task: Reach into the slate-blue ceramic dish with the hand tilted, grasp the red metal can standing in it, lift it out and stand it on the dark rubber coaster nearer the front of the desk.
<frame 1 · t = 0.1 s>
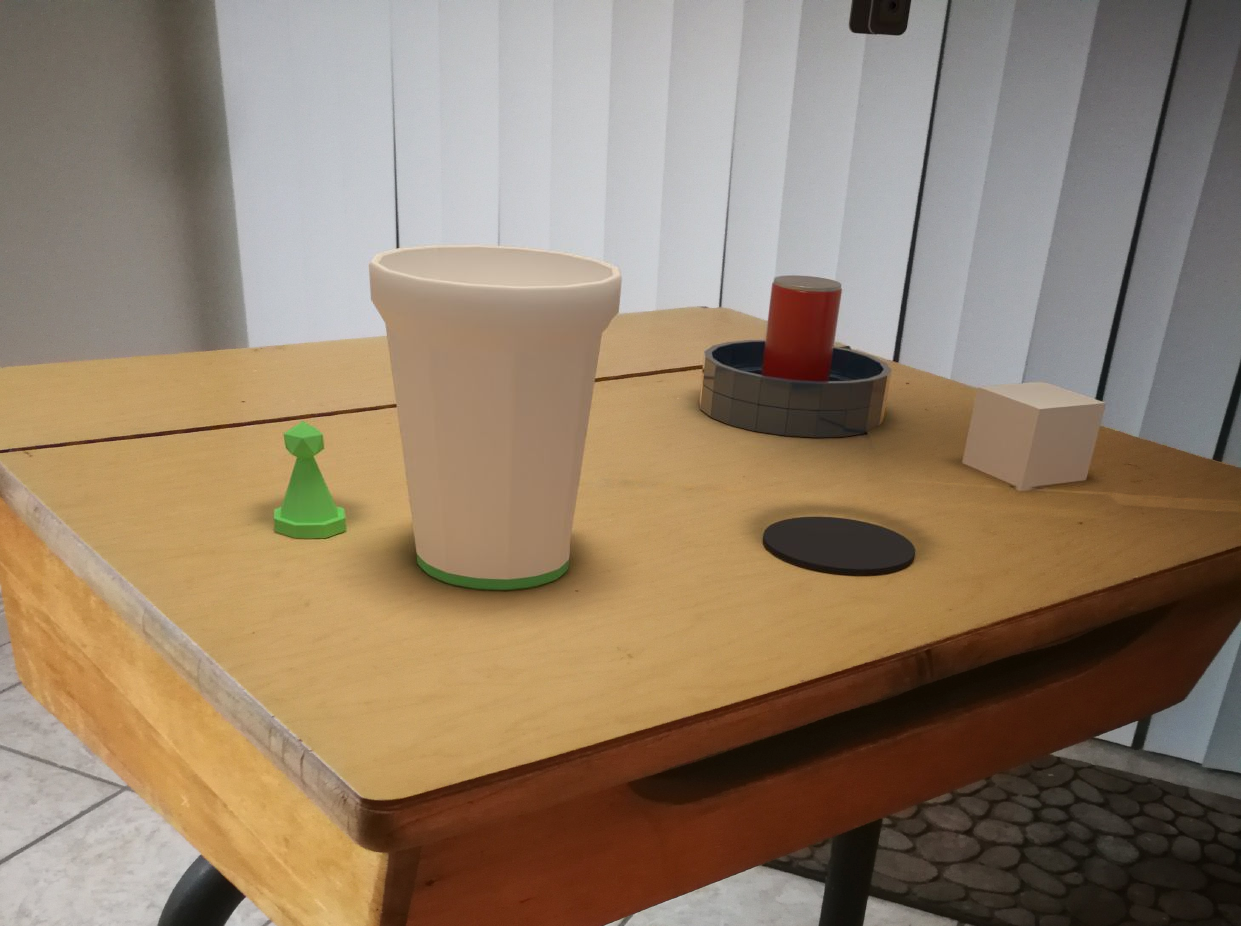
hand: (875, 34, 81), 26 cm above the table, tool pointing down, fingers open, 8 cm apart
game piece: (310, 529, 75), on the table
can: (790, 412, 102), point 1 cm above the table, touching dish
coaster: (838, 547, 77), on the table
beige cube: (1020, 485, 91), on the table
cup: (493, 565, 72), on the table
dish: (789, 419, 102), on the table
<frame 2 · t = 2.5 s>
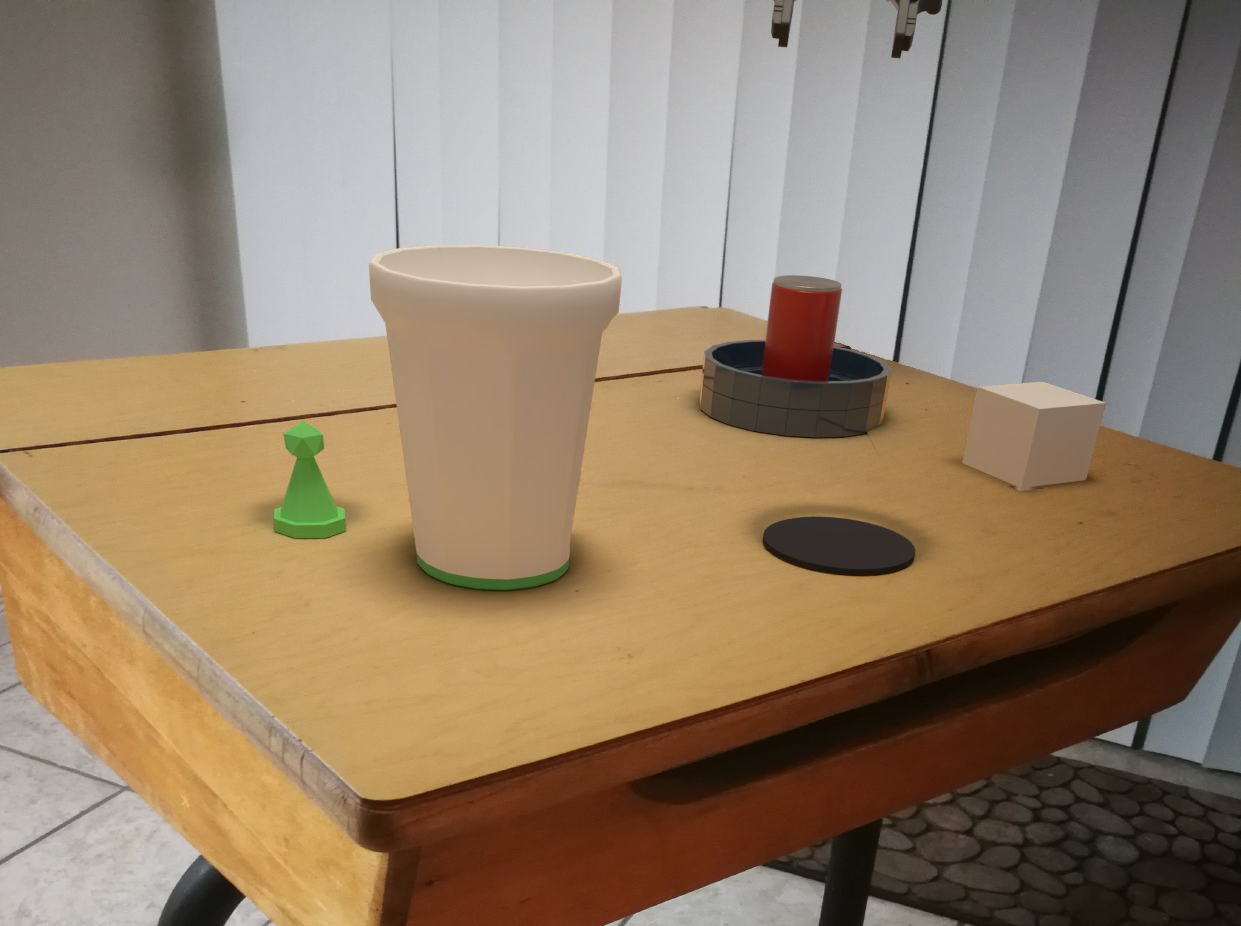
hand: (840, 44, 97), 25 cm above the table, tool tilted 45°, fingers open, 8 cm apart
nothing on the table moved.
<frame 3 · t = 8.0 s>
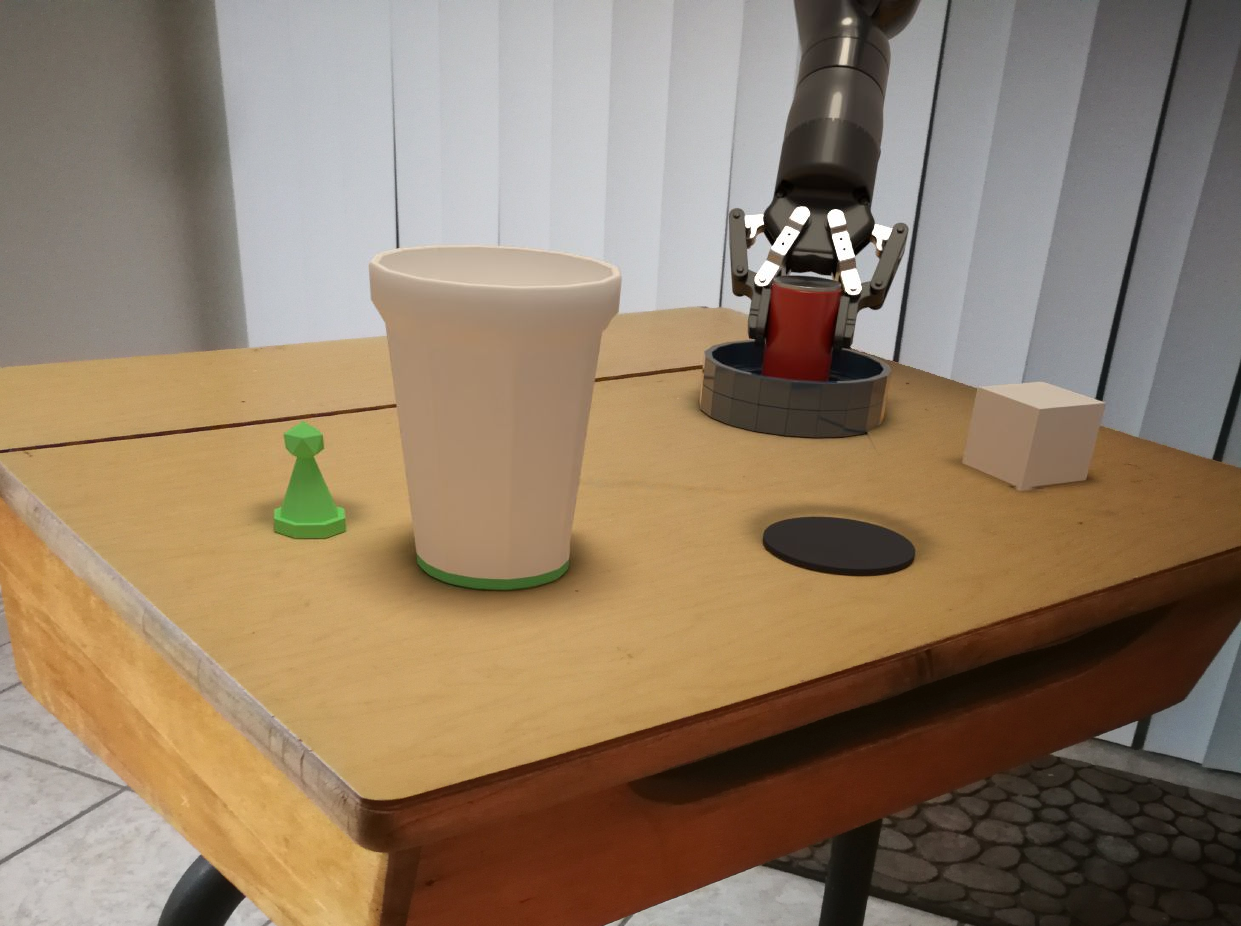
hand: (798, 344, 97), 6 cm above the table, tool tilted 45°, fingers closed on can, 5 cm apart
can: (790, 412, 102), point 1 cm above the table, touching dish, gripper
everything else where it was.
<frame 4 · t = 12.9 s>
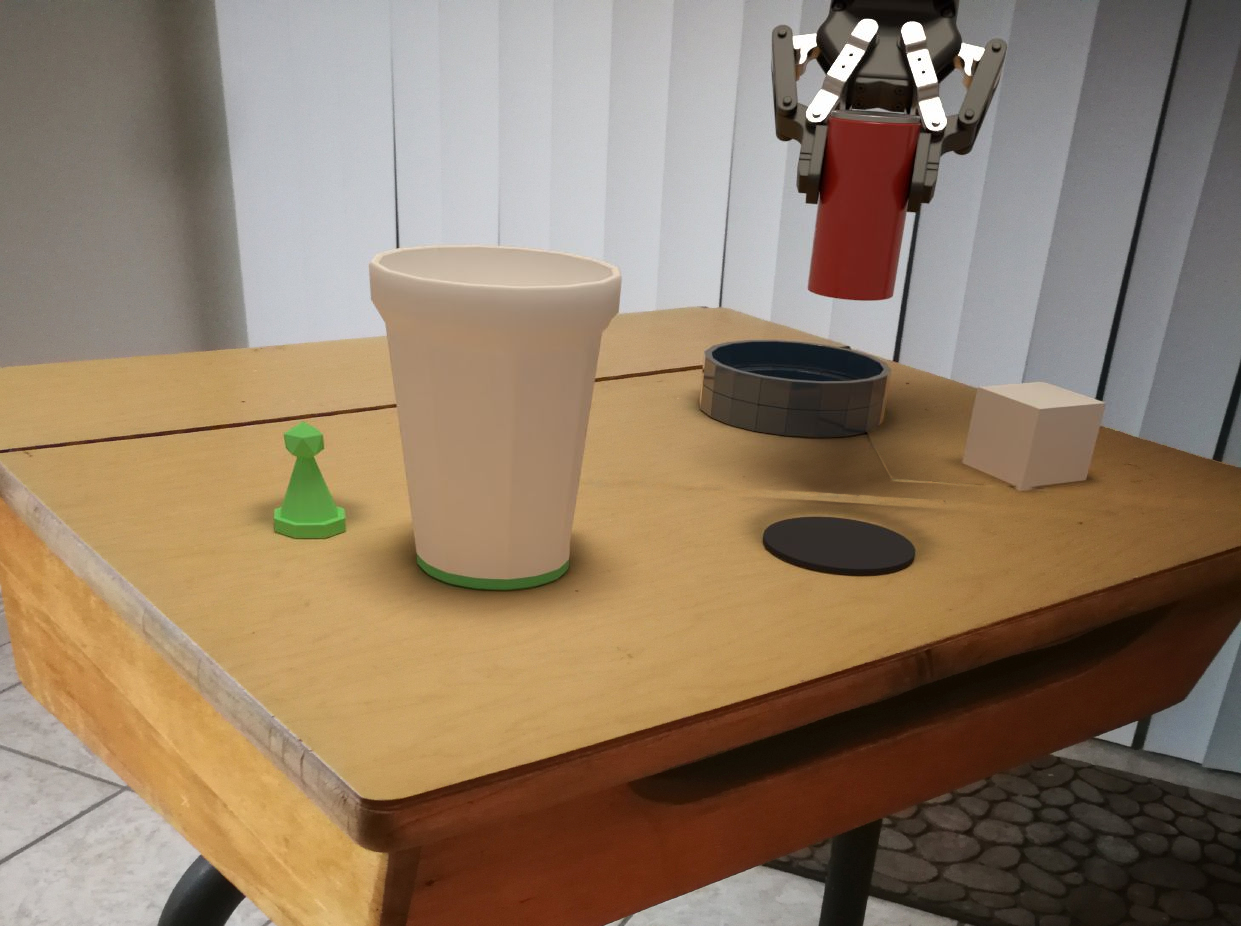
hand: (863, 197, 75), 18 cm above the table, tool tilted 45°, fingers closed on can, 5 cm apart
can: (849, 292, 79), point 13 cm above the table, touching gripper
everything else where it was.
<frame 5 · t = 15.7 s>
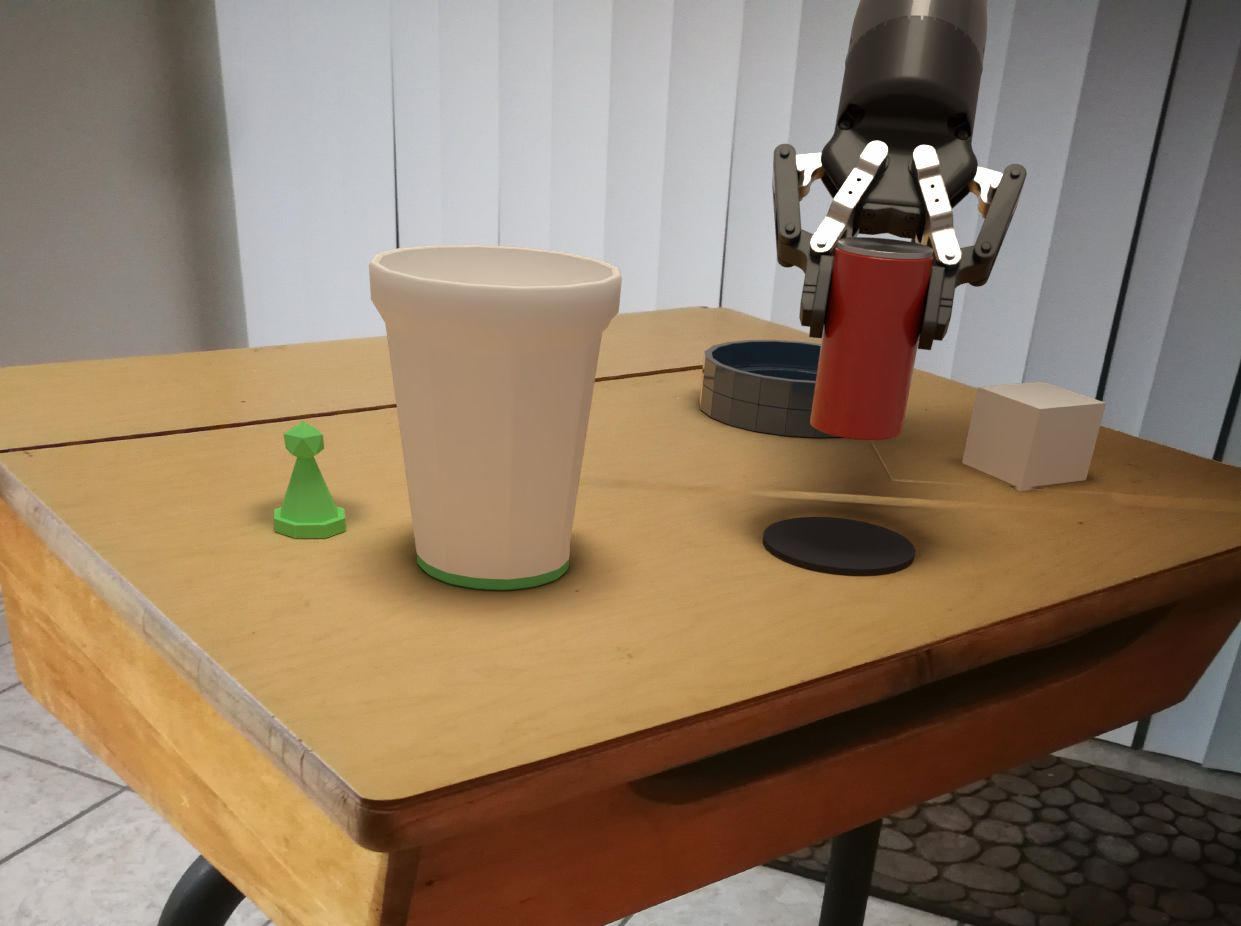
hand: (871, 333, 69), 12 cm above the table, tool tilted 45°, fingers closed on can, 5 cm apart
can: (855, 427, 74), point 7 cm above the table, touching gripper
everything else where it was.
when the fingers open (6 cm above the table, at t = 18.0 s): can stays where it is, resting on coaster.
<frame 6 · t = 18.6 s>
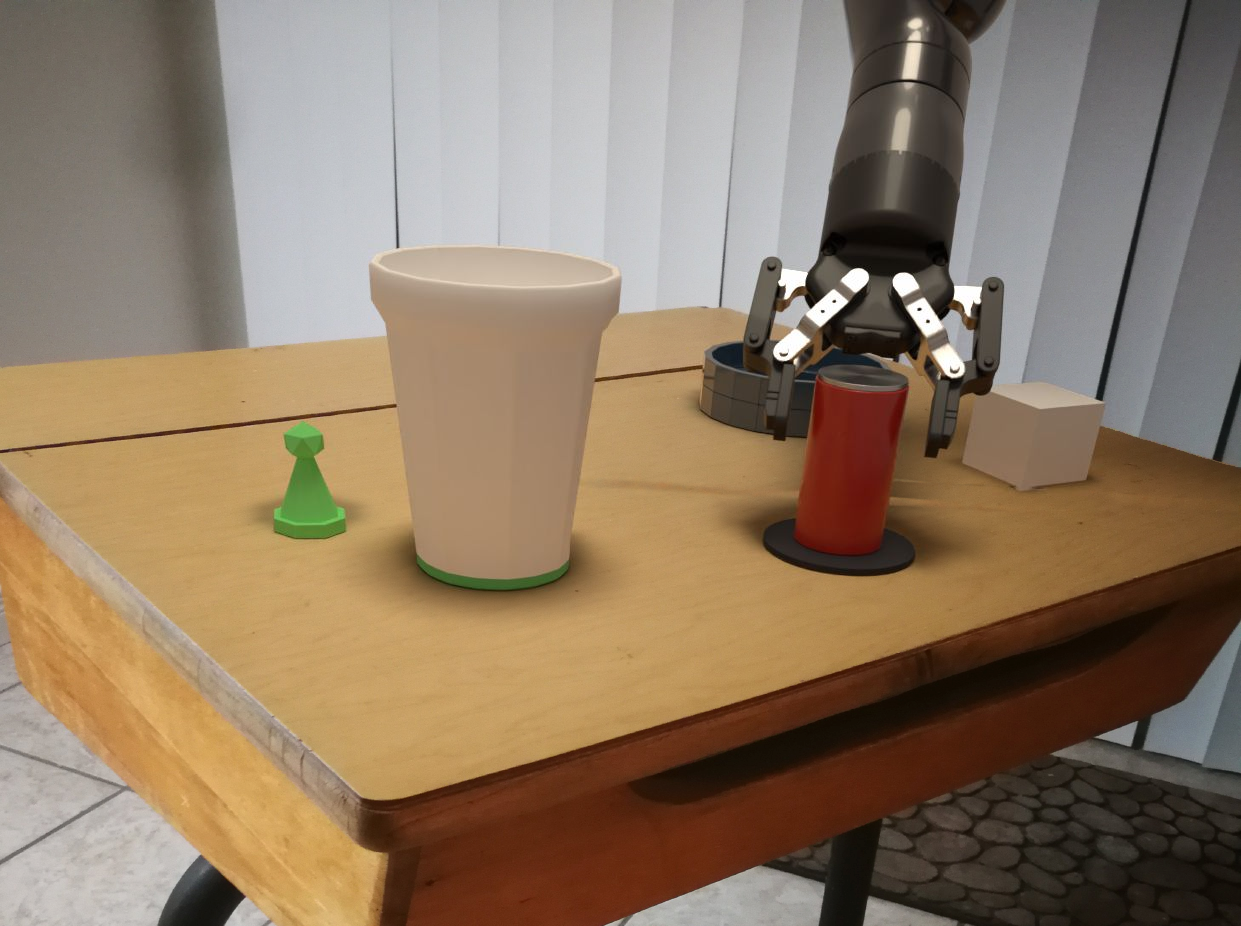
hand: (855, 442, 73), 7 cm above the table, tool tilted 45°, fingers open, 8 cm apart
can: (837, 540, 77), resting on coaster
everything else where it was.
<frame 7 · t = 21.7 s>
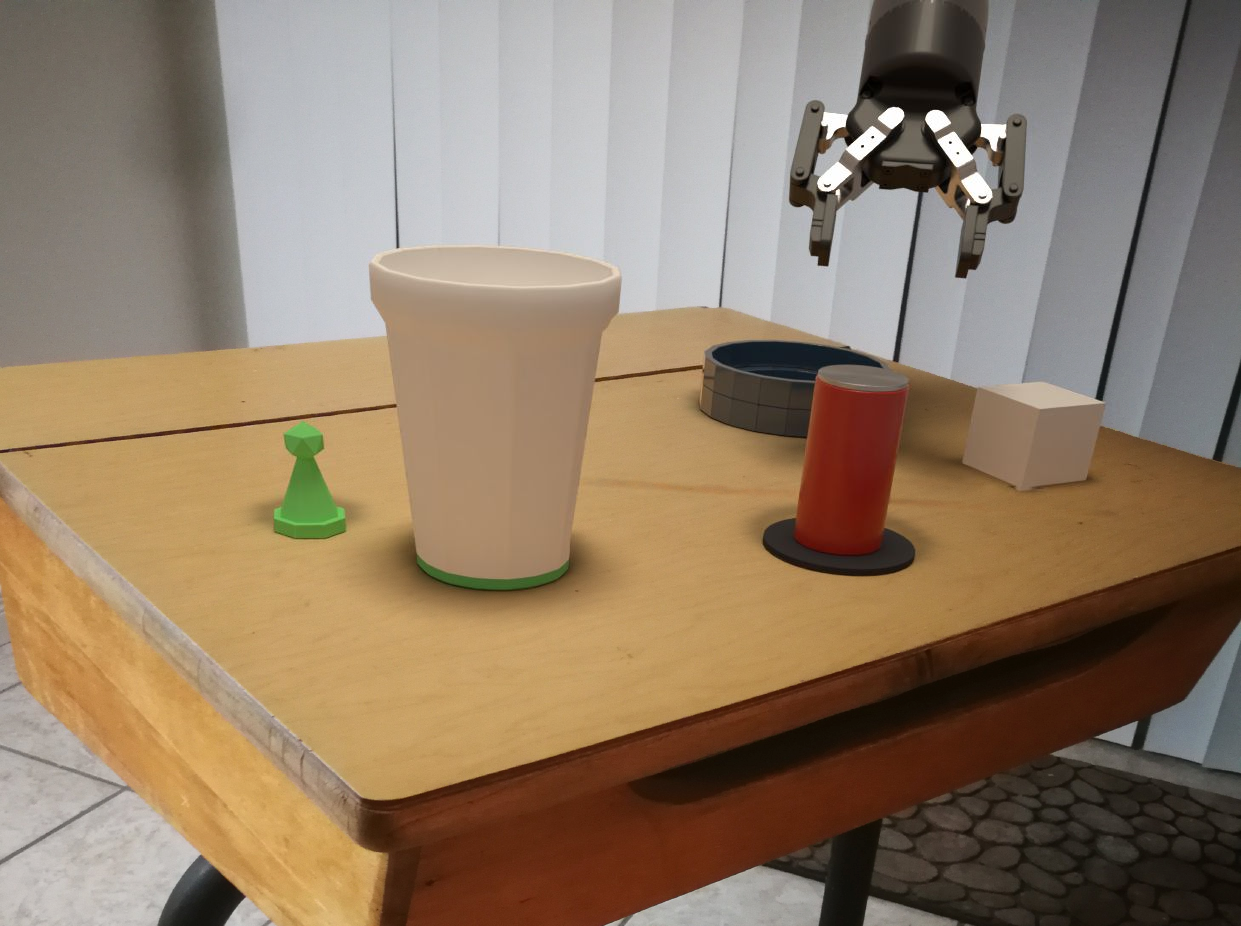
hand: (893, 263, 80), 14 cm above the table, tool tilted 45°, fingers open, 8 cm apart
nothing on the table moved.
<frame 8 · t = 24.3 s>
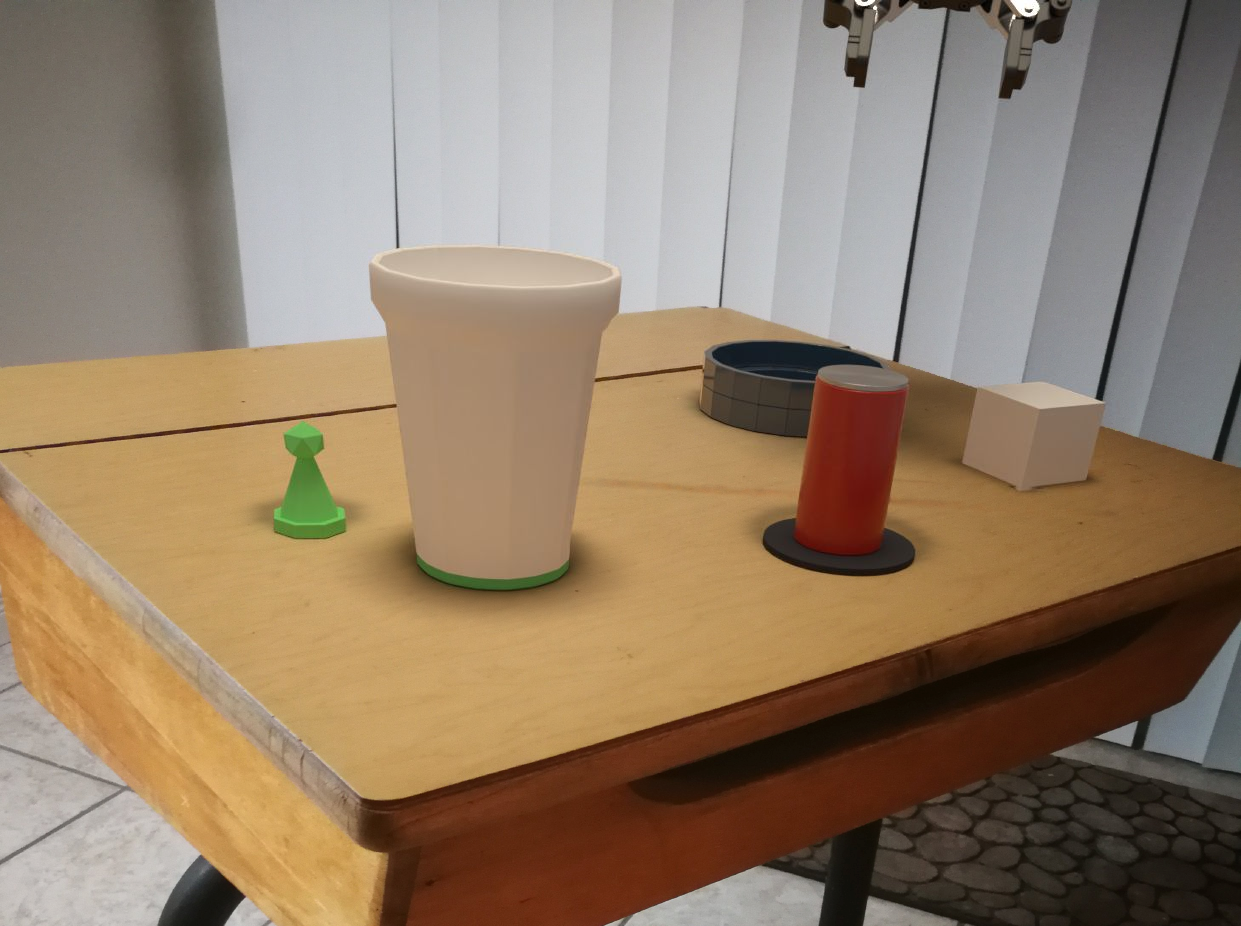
hand: (933, 82, 76), 24 cm above the table, tool tilted 45°, fingers open, 8 cm apart
nothing on the table moved.
at the end: can 0.1 cm off-centre on the coaster, point 0.4 cm above the coaster's base; can tilted 0°; can touching coaster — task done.
